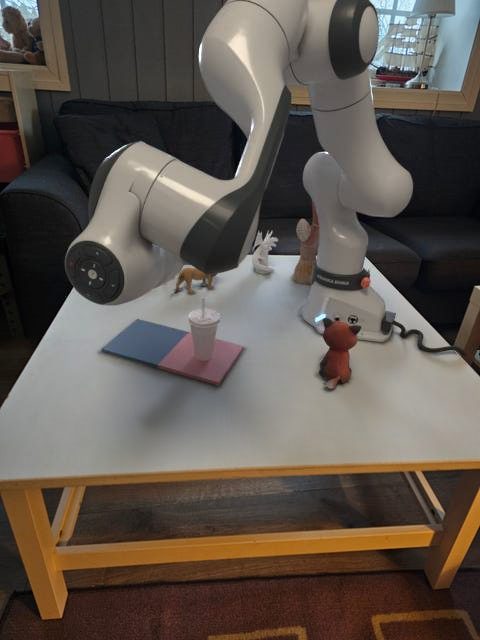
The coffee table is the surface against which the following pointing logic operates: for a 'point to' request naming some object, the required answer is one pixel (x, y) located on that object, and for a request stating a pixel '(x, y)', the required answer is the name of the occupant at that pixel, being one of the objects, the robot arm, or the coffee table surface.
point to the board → (172, 351)
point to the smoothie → (203, 331)
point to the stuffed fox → (337, 351)
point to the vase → (307, 248)
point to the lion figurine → (193, 274)
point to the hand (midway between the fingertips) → (183, 243)
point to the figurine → (263, 253)
